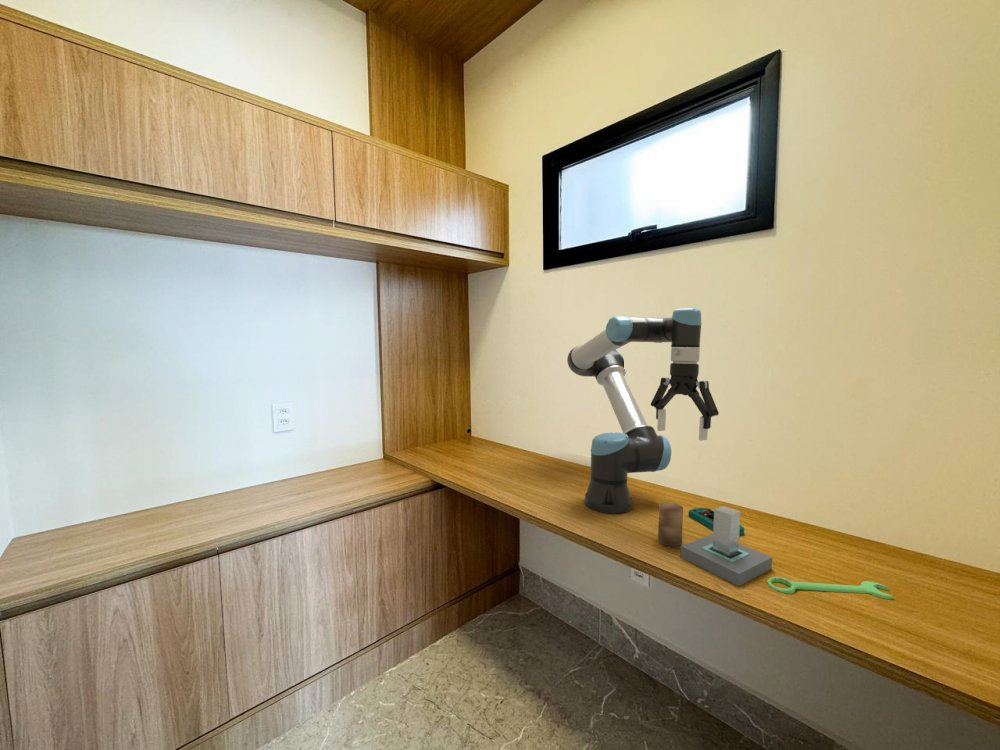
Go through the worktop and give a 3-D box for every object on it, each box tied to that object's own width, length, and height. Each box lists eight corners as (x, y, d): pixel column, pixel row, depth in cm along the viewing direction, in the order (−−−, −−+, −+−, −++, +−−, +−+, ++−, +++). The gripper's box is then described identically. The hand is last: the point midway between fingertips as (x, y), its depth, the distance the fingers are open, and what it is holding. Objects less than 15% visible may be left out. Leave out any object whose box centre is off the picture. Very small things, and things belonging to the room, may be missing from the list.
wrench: (901, 605, 82) (879, 589, 87) (903, 596, 82) (880, 580, 87) (776, 596, 83) (761, 581, 89) (777, 587, 83) (762, 572, 88)
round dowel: (653, 541, 106) (654, 504, 105) (667, 536, 109) (668, 500, 108) (672, 550, 101) (673, 512, 100) (686, 545, 104) (687, 508, 103)
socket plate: (680, 557, 98) (681, 545, 98) (713, 543, 105) (714, 532, 105) (738, 586, 86) (739, 572, 86) (771, 568, 93) (772, 556, 93)
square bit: (711, 561, 96) (714, 509, 95) (721, 556, 98) (723, 505, 97) (728, 569, 93) (731, 514, 92) (737, 564, 95) (740, 511, 94)
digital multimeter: (706, 514, 125) (707, 505, 124) (745, 536, 110) (746, 526, 110) (686, 516, 123) (686, 507, 123) (723, 538, 109) (723, 528, 108)
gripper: (640, 361, 123) (638, 428, 124) (719, 364, 101) (714, 446, 103) (656, 360, 127) (653, 426, 128) (735, 364, 105) (731, 442, 107)
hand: (681, 435), depth 116 cm, fingers open, 13 cm apart
